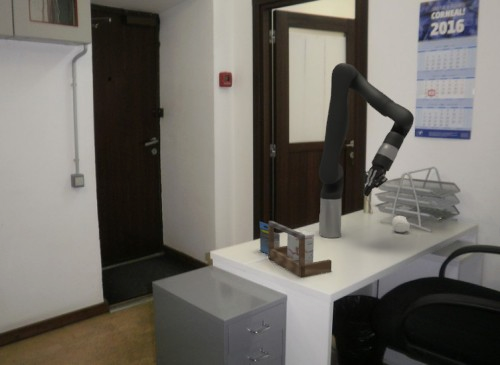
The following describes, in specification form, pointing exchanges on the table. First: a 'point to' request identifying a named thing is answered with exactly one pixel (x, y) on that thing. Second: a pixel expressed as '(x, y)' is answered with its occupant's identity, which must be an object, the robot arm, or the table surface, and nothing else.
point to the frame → (299, 267)
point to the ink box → (294, 247)
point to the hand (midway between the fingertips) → (365, 195)
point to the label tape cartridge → (267, 238)
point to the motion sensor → (400, 224)
